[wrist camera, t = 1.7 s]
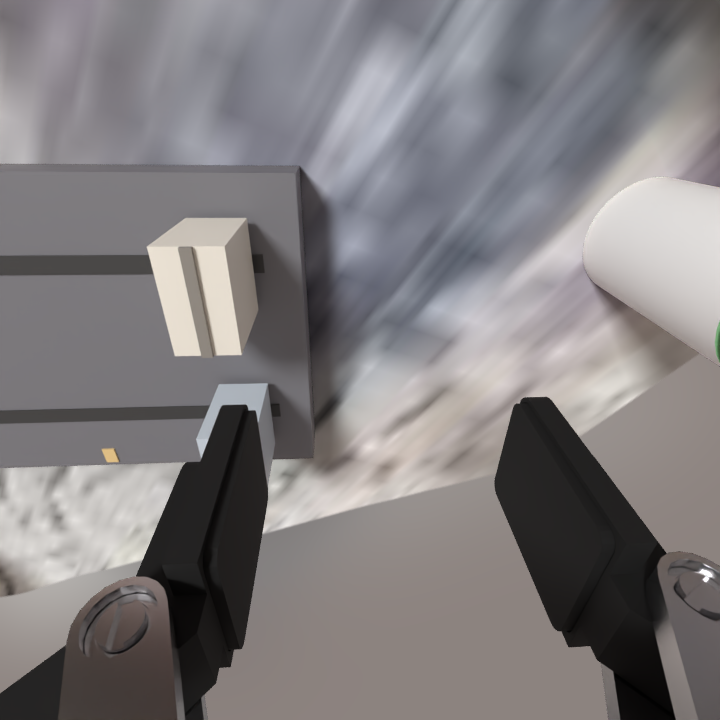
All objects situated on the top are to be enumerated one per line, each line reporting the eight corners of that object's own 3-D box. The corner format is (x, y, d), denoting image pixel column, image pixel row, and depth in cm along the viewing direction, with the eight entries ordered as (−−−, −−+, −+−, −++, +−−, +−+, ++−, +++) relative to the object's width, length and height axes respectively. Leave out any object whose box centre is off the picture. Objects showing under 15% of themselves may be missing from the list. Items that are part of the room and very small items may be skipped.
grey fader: (218, 384, 26) (195, 441, 21) (267, 383, 26) (254, 440, 21) (230, 444, 28) (212, 507, 24) (275, 443, 28) (264, 505, 24)
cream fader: (185, 217, 20) (144, 248, 16) (246, 217, 21) (223, 247, 16) (204, 310, 23) (173, 358, 19) (258, 309, 23) (240, 357, 19)
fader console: (-251, 161, 21) (-334, 169, 18) (299, 165, 23) (295, 173, 20) (-60, 441, 31) (-96, 471, 28) (314, 430, 33) (313, 459, 30)
